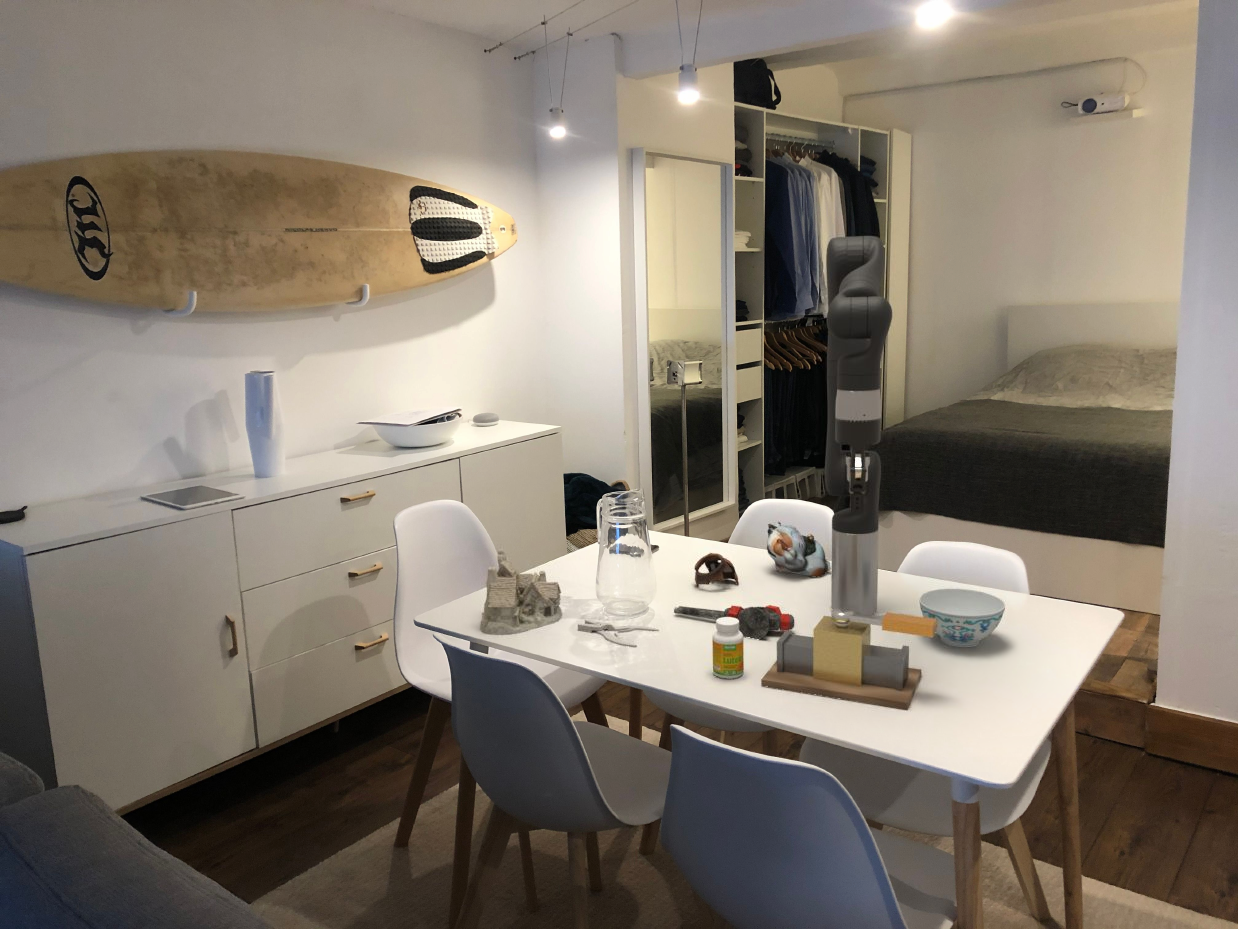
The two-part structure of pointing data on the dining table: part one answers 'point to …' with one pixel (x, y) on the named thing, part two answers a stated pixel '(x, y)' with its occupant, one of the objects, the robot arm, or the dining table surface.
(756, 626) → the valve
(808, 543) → the lucky cat figurine
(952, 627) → the chinaware
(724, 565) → the brown openwork dome
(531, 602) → the ceramic cottage
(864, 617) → the valve lever
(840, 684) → the walnut board
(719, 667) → the supplement bottle
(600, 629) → the pliers
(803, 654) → the valve and pipe
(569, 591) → the dining table surface
